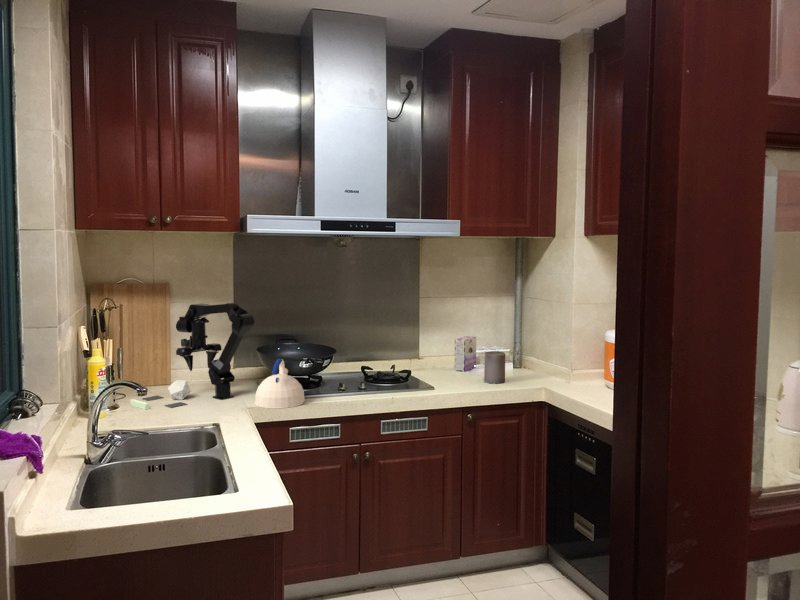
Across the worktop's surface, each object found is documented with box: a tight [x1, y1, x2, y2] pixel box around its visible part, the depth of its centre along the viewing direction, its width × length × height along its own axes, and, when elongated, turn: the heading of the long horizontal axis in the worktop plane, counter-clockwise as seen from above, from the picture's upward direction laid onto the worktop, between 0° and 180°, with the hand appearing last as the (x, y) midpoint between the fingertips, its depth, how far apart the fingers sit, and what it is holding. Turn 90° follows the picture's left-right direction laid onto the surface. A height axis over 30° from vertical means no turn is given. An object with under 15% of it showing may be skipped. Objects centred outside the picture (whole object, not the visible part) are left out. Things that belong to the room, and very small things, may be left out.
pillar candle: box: [483, 350, 506, 385], centre depth 301 cm, size 10×10×15 cm
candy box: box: [454, 335, 477, 373], centre depth 332 cm, size 14×6×16 cm, turn 147°
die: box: [167, 379, 192, 401], centre depth 269 cm, size 8×9×10 cm
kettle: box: [254, 358, 306, 410], centre depth 262 cm, size 20×21×18 cm
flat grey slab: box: [129, 394, 188, 410], centre depth 261 cm, size 23×15×2 cm, turn 50°
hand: (200, 369), depth 276 cm, fingers open, 8 cm apart
